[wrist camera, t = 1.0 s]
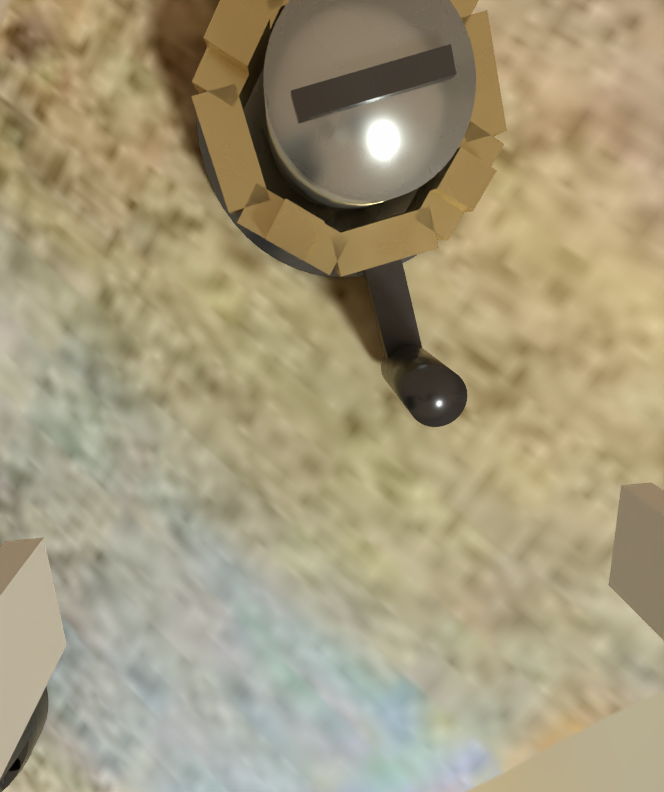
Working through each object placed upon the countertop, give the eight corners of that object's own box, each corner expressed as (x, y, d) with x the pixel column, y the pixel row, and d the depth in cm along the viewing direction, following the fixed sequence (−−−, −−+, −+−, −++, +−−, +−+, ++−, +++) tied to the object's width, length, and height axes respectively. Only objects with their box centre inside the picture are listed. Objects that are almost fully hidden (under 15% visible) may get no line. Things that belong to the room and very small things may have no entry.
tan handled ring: (168, 12, 25) (132, -63, 19) (446, -68, 25) (503, -169, 19) (299, 421, 31) (305, 467, 25) (520, 354, 32) (581, 384, 25)
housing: (252, 308, 31) (241, 338, 21) (155, 12, 26) (90, -110, 17) (501, 234, 31) (596, 232, 22) (448, -73, 26) (540, -238, 17)
